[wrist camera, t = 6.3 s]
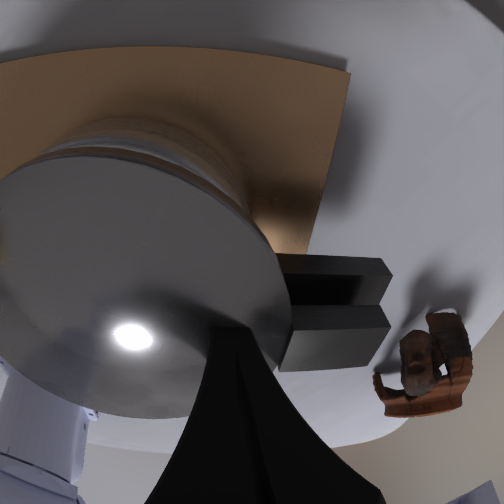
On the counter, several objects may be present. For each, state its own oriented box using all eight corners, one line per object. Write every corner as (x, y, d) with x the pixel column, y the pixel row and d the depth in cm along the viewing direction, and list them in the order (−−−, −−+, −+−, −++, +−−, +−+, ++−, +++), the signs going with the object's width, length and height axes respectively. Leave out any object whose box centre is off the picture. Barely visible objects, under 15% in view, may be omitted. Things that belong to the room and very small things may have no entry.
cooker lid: (21, 382, 13) (15, 401, 12) (-69, 159, 6) (-91, 175, 5) (322, 400, 16) (328, 420, 15) (430, 184, 9) (452, 203, 8)
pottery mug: (471, 320, 26) (476, 402, 22) (387, 337, 32) (389, 413, 28) (459, 292, 18) (468, 416, 14) (338, 318, 24) (338, 426, 20)
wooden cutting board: (299, 348, 23) (317, 412, 18) (29, 333, 19) (8, 394, 14) (383, 83, 12) (458, 108, 8) (-29, 71, 9) (-103, 97, 4)
